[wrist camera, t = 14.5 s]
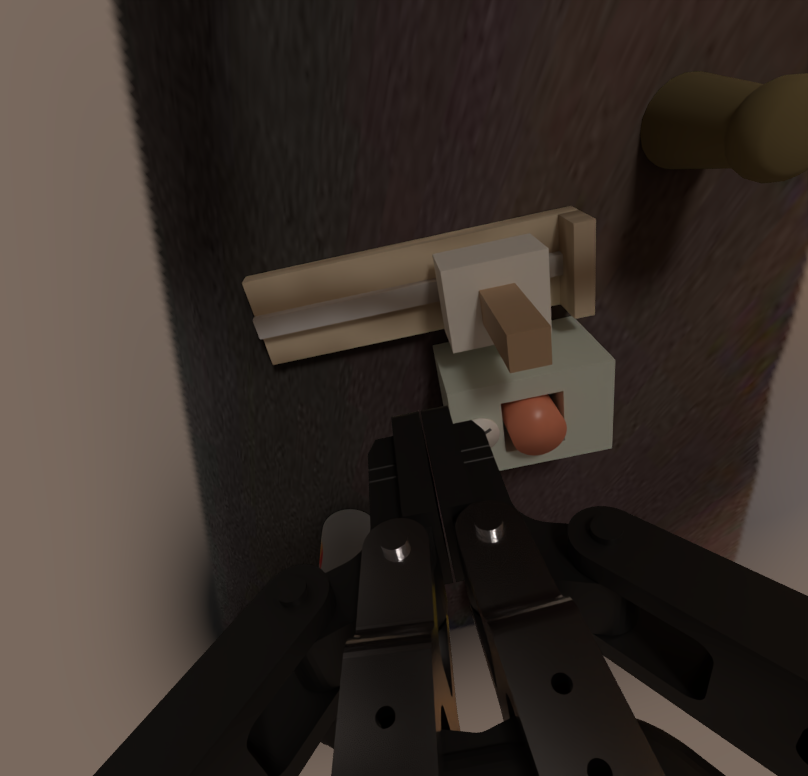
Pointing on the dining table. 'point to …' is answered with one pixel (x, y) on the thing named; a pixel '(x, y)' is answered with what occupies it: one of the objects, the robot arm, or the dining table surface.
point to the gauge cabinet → (534, 392)
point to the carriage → (498, 299)
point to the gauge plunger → (534, 424)
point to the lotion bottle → (341, 556)
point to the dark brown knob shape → (729, 125)
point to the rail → (404, 286)
